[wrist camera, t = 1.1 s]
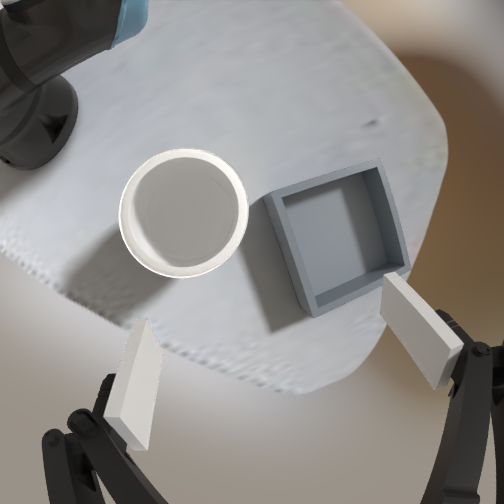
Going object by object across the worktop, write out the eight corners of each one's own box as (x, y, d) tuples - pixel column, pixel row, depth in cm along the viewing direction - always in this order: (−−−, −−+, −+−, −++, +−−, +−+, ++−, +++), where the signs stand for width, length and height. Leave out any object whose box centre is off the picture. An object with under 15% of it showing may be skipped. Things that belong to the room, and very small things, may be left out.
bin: (262, 196, 38) (270, 192, 33) (362, 164, 40) (380, 157, 35) (300, 308, 40) (313, 318, 35) (391, 265, 42) (411, 269, 37)
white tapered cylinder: (181, 275, 38) (167, 304, 23) (135, 210, 36) (95, 199, 21) (248, 226, 38) (276, 226, 24) (202, 161, 37) (202, 122, 22)
